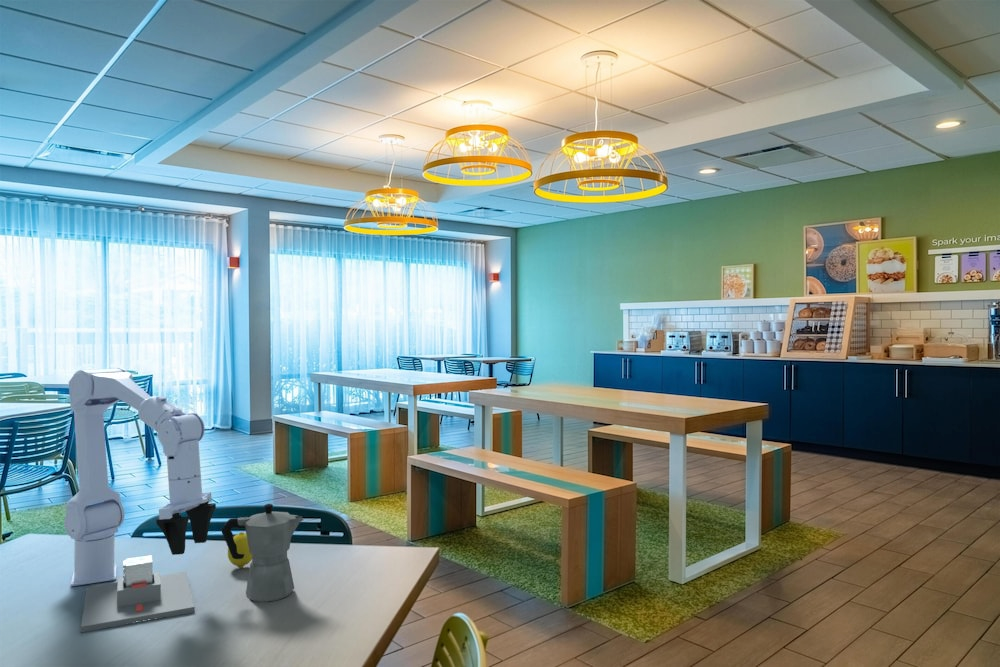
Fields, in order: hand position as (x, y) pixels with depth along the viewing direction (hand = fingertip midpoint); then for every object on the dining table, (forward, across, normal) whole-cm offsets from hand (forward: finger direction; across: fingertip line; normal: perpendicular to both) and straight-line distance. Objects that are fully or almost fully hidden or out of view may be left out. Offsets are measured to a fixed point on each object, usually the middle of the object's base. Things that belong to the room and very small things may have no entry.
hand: (189, 548), depth 128 cm
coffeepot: (+12, +7, -11) cm, 17 cm away
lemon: (+10, +19, 0) cm, 22 cm away
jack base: (+10, 0, +11) cm, 14 cm away
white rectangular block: (+8, -1, +11) cm, 14 cm away
